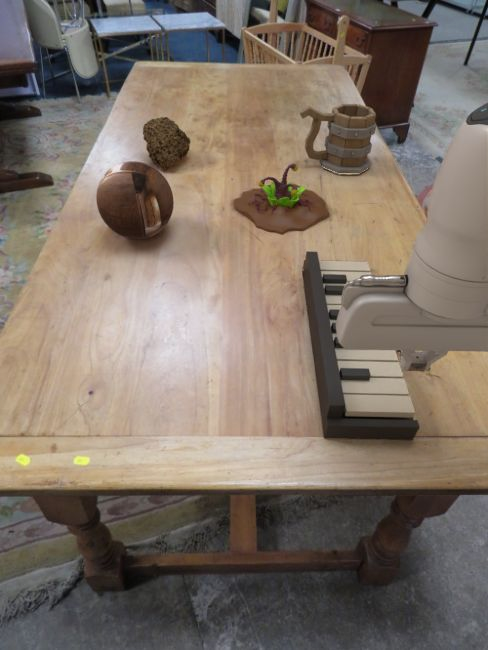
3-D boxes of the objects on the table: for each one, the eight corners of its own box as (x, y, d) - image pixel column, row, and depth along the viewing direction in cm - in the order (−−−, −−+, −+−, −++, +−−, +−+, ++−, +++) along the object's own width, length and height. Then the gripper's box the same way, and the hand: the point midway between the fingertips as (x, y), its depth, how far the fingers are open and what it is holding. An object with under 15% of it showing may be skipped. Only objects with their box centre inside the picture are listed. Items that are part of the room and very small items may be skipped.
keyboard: (364, 274, 84) (371, 248, 80) (412, 440, 58) (426, 415, 54) (302, 273, 84) (305, 247, 80) (323, 438, 58) (330, 413, 54)
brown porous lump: (156, 177, 113) (124, 128, 112) (188, 172, 123) (159, 127, 123) (181, 147, 105) (147, 95, 105) (212, 145, 116) (181, 97, 115)
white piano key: (407, 400, 59) (410, 395, 58) (412, 417, 57) (415, 412, 57) (341, 399, 59) (343, 394, 58) (344, 416, 57) (346, 411, 57)
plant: (344, 222, 97) (354, 174, 89) (272, 248, 90) (276, 198, 82) (290, 185, 109) (295, 140, 101) (223, 205, 101) (222, 158, 94)
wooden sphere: (104, 219, 96) (88, 152, 86) (171, 211, 99) (164, 145, 89) (106, 258, 86) (88, 187, 76) (181, 248, 89) (174, 179, 78)
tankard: (361, 155, 122) (374, 97, 112) (372, 175, 114) (387, 115, 103) (291, 154, 122) (297, 97, 111) (296, 175, 113) (303, 114, 102)
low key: (366, 266, 81) (367, 261, 80) (369, 275, 79) (370, 270, 78) (318, 265, 81) (318, 260, 80) (319, 274, 79) (320, 269, 78)
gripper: (351, 296, 41) (330, 386, 50) (572, 299, 40) (507, 389, 50) (341, 256, 45) (324, 346, 55) (540, 258, 45) (487, 348, 55)
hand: (413, 367), depth 52 cm, fingers closed
